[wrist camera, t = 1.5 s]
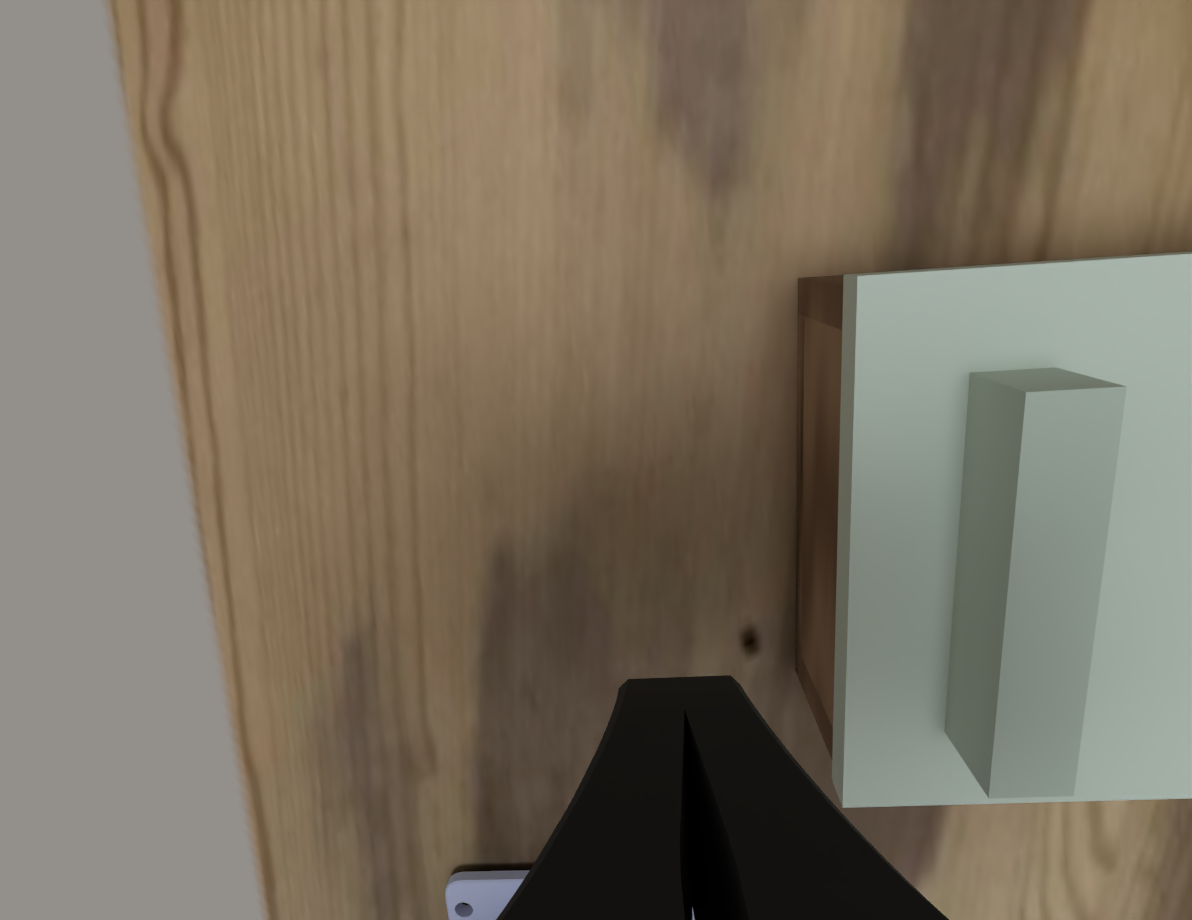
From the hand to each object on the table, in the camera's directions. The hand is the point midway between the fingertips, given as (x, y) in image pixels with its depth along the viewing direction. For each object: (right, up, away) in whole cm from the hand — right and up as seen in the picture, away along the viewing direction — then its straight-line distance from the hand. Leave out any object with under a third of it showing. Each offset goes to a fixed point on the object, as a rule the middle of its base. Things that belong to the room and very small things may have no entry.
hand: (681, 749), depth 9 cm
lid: (+10, +2, +5) cm, 11 cm away
